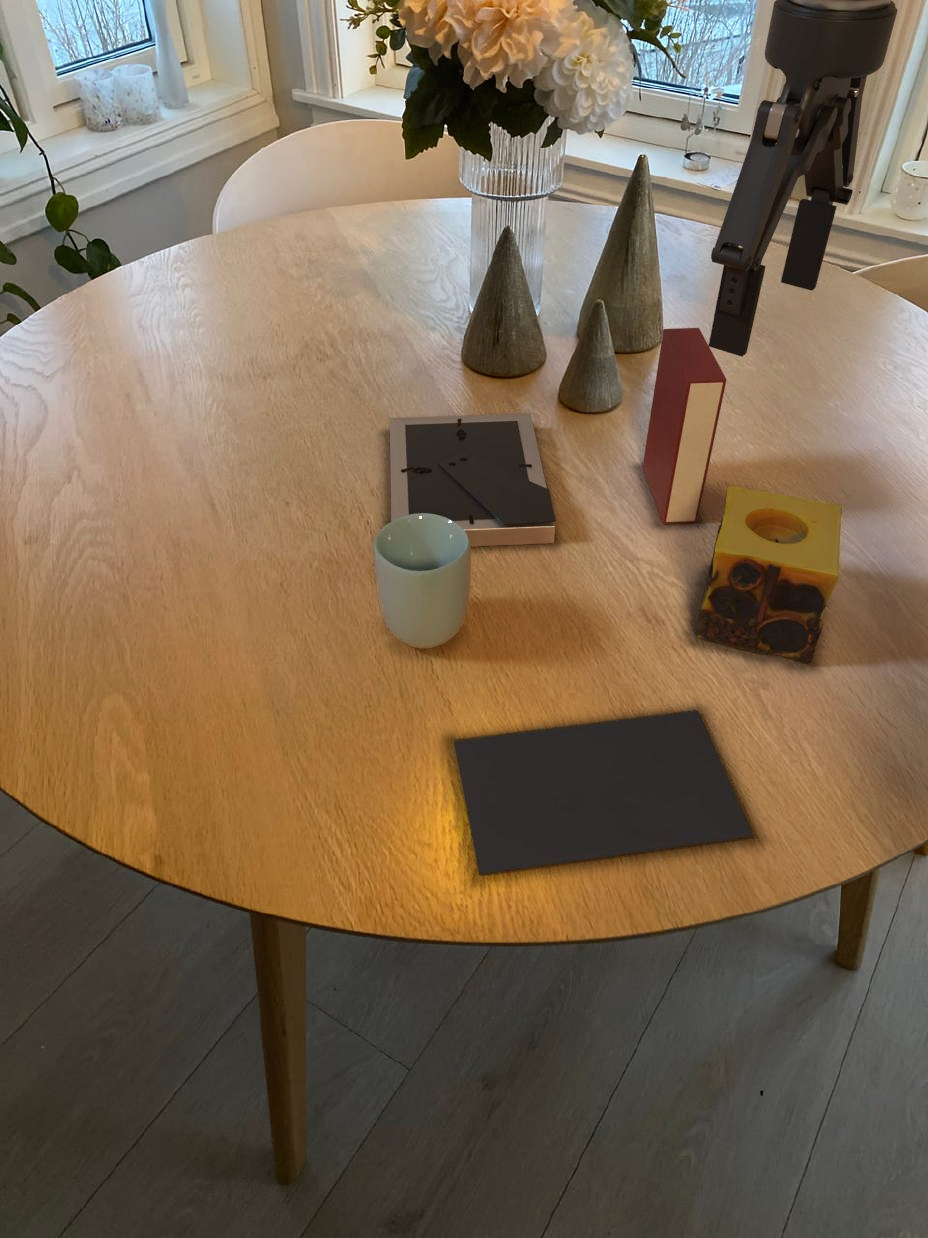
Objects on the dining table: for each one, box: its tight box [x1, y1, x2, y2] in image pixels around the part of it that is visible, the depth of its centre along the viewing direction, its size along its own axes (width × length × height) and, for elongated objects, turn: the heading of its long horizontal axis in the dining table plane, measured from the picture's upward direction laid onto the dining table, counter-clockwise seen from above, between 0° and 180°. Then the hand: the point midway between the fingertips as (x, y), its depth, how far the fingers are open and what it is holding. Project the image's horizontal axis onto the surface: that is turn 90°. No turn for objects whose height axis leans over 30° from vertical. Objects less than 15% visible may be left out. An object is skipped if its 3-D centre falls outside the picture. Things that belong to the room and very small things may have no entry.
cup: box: [372, 513, 472, 649], centre depth 81 cm, size 8×8×10 cm
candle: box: [693, 484, 843, 665], centre depth 83 cm, size 10×10×10 cm
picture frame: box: [389, 412, 557, 548], centre depth 100 cm, size 16×3×21 cm
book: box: [642, 327, 728, 525], centre depth 94 cm, size 10×4×16 cm, turn 4°
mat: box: [453, 710, 754, 876], centre depth 72 cm, size 20×12×1 cm, turn 99°
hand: (764, 316), depth 75 cm, fingers open, 13 cm apart
